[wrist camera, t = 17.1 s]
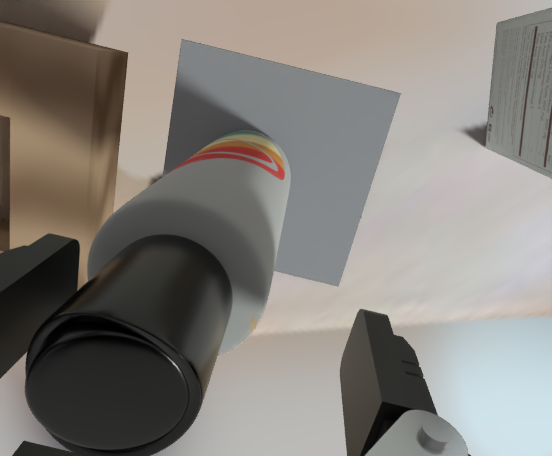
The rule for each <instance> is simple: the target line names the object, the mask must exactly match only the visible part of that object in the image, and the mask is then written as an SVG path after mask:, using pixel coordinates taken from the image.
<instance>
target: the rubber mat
mask: <svg viewBox="0 0 552 456" xmlns="http://www.w3.org/2000/svg"><path fill="white" fill-rule="evenodd" d="M399 97H400V93H397V92H393V91H389V90H385V89H381V88H377V87H373V86H369V85H365V84H361V83H357V82H353V81H349V80H345V79H341V78H337V77H333V76H329V75H325V74H321V73H317V72H313V71H309V70H305V69H301V68H296V67H293V66H289V65H284V64H280V63H276V62H272V61H268V60H264V59H260V58H256V57H252V56H248V55H244V54H240V53H236V52H232V51H228V50H224V49H220V48H216V47H212V46H208V45H204V44H200V43H196V42H192V41H187V40H183V39H182V41H181V48H180V55H179V62H178V70H177V77H176V85H175V91H174V99H173V107H172V113H171V121H170V128H169V136H168V142H167V150H166V157H165V164H164V172H163V177H164V176H165V175H166V174H168V173H169V172H171V171H172V170H173V169H175V168H176V167H178V166H179V165H180V164H182V163H183V162H185V161H186V160H188V159H189V158H190V157H192V156H193V155H195V154H196V153H197V152H199V151H200V150H202V149H203V148H204V147H206V146H207V145H209V144H210V143H212V142H213V141H214V140H216V139H218V138H219V137H221V136H223V135H225V134H227V133H230V132H234V131H240V130H249V131H255V132H258V133H261V134H264V135H266V136H267V137H269V138H271V139H272V140H273V141H274V142H276V143H277V144H278V145H279V147H280V148H281V149H282V150H283V152H284V154H285V155H286V158H287V160H288V163H289V167H290V173H291V182H290V190H289V195H288V200H287V206H286V211H285V216H284V221H283V226H282V231H281V236H280V241H279V247H278V252H277V257H276V262H275V267H274V271H277V272H281V273H285V274H289V275H293V276H297V277H301V278H305V279H309V280H314V281H318V282H322V283H326V284H330V285H334V286H339V283H340V280H341V277H342V274H343V271H344V268H345V265H346V262H347V258H348V255H349V252H350V249H351V246H352V243H353V240H354V237H355V234H356V231H357V227H358V224H359V221H360V218H361V215H362V212H363V209H364V206H365V203H366V200H367V196H368V193H369V190H370V187H371V184H372V181H373V178H374V175H375V172H376V169H377V165H378V162H379V159H380V156H381V153H382V150H383V147H384V144H385V141H386V138H387V134H388V131H389V128H390V125H391V122H392V119H393V116H394V113H395V110H396V107H397V103H398V100H399Z"/></svg>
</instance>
